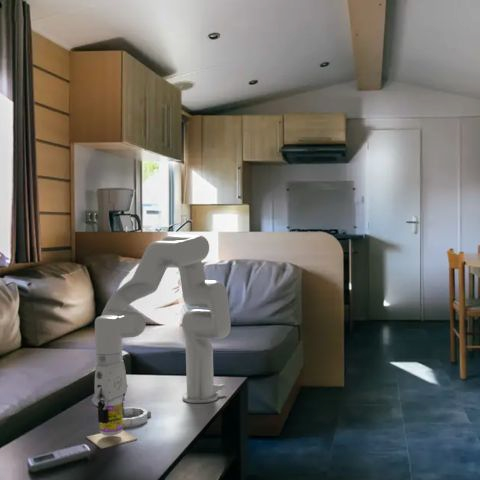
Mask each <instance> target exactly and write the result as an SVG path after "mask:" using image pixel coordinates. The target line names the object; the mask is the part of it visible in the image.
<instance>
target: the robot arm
mask: <svg viewBox="0 0 480 480" xmlns="http://www.w3.org/2000/svg"><path fill="white" fill-rule="evenodd" d="M209 252H210V244H209V241H208V239H207V238H206V237H204V236H203V235H199V234H174V235H173V234H171V235H167V236H165V237H164V238H162V240H156V241H153V242H152V241H151V243H149V245H148V246H147V247H146V248H145V250H144V252H143V255H142V257H141V259H140V261H139V264H138V265H137V268H136V270H135V271H134V274H133V275H132V277H131V279H129V280H128V281H127V282H126V283H124V284H123V285H121V287H119V288H118V289H117V290H116V291H115V292H114V293H112V295H111V296H110V298H109V299H108V300H107V302H106V304H105V307H104V308H103V311H102V313H101V315H100V316H97V317H96V318H95V320H94V335H95V337H94V338H95V341H94V342H95V372H94V394H93V397H92V398H91V402H92V403H93V404H94V406H95V408H96V410H97V417H98V418H97V421H98V423H99V424H100V423H108V422H109V418H108V409H107V405H108V400H112V399H114V398H116V397H119V396H120V397H121V398H122V412H123V415H124V409H123V408H124V402H125V395H126V393H127V391H128V388H129V387H128V386H129V385H128V384H127V373H126V372H127V371H126V365H125V362H124V360H123V342H122V341H123V339H126V338H136V337H138V336H140V335H141V334H143V333H144V331H145V329H146V325H147V324H146V322H147V321H146V319H145V317H144V316H143V315H142V314H141V313H139V312H135V311H127V310H126V308H127V307H129V306H130V305H131V304H132V303H134V302H136V301H138V300H140V299H142V298H145V297H147V296H149V295H151V294H154V293H155V292H156V291H158V288H159V286H160V284H161V281H162V279H163V278H164V274H165V273H166V270H167V269H168V268H178V269H177V270H178V272H179V276H180V285H181V292H182V298H183V302H184V303H185V305H187V306H188V307H193V308H194V307H195V308H196V309H195V308H194V309H190V310H188V311H186V312H185V313H184V314H183V317H182V320H181V322H182V323H181V326H182V332H183V335H184V341H185V342H184V343H185V364H186V365H185V366H186V369H185V372H186V373H185V374H186V393H184V394H183V395H182V400H183V401H184V402H186V403H190V404H204V403H206V404H207V403H211V402H214V401H215V402H216V400H218V399H219V393H218V392H219V391H222V390H225V389H226V384H224V383H221V384H218V383H214V349H213V344H212V342H211V340H210V339H224V338H226V337H227V336H228V335H229V334H230V331H231V328H232V327H231V324H232V323H231V313H230V311H231V310H230V305H229V296H228V291H227V288H226V286H225V284H223V283H222V282H221V281H220V280H215V279H214V280H212V279H210V280H209V279H207V278H206V275H205V268H204V264H203V260H206V258H207V256H208V254H209ZM200 308H202V309H200ZM103 397H104V398H103ZM102 401H104V405H103V404H102Z"/></svg>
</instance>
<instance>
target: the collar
mask: <svg viewBox="0 0 480 480" xmlns="http://www.w3.org/2000/svg"><path fill="white" fill-rule="evenodd" d="M123 409H124V415H123V428H133V427H139V426H142V425H144V424H145V423H147V422H148V420H149V419H148V418H151V417H152V411H150V410H147V409H145V408H143V407H138V406H130V407H128V406H127V407H123Z"/></svg>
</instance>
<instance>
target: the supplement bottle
mask: <svg viewBox="0 0 480 480" xmlns="http://www.w3.org/2000/svg"><path fill="white" fill-rule="evenodd" d="M103 398H104V397H103ZM122 402H123V401H122V398H121V397H120V396H119V397H116V398H114V399H112V400H108V405H107V409H108V418H109V422H108V423H99V432H100V433H101V434H103V435H116V434H119V433H121V432H122V430H124V427H123V418H124V416H123V412H122ZM102 404H103V405H104V401H102ZM100 433H99V434H100Z"/></svg>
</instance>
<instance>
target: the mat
mask: <svg viewBox="0 0 480 480" xmlns="http://www.w3.org/2000/svg"><path fill="white" fill-rule="evenodd" d="M85 439H87V440H88V441H90V442H91V443H93V444H94V445H95V446H96V447H99V448H100V449H105V448H110V447H113V446H118V445H122V444H126V443H129V442H133V441H137V440H138V438H137V437H135V436H134V435H132V434H131V433H129V432H127V431H125V430H124V429H123V430H122V432H121V433H119V434H116V435H103V434H101V433H95V434H93V435H88V436H86V437H85Z"/></svg>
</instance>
